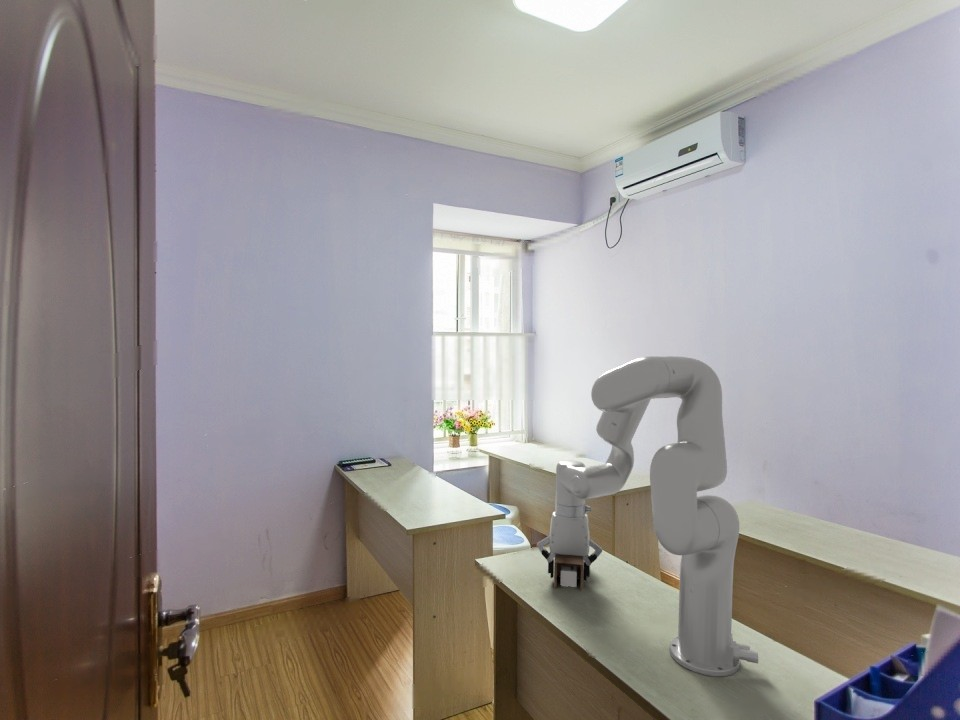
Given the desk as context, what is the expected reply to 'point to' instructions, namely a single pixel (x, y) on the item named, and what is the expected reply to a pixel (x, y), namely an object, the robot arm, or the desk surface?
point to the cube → (568, 575)
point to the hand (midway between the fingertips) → (568, 577)
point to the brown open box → (568, 560)
